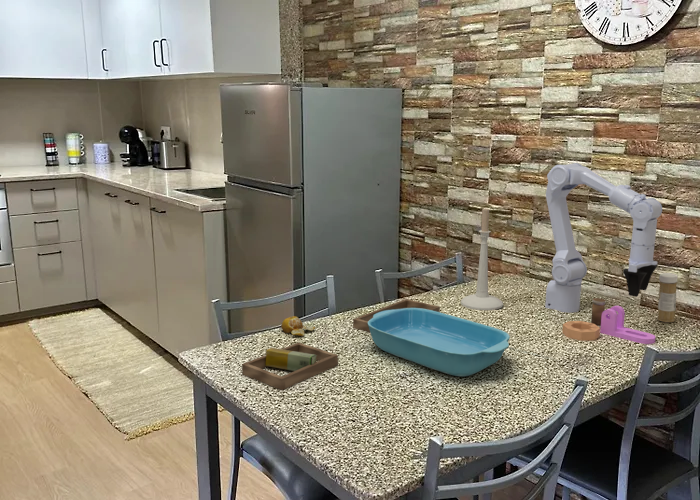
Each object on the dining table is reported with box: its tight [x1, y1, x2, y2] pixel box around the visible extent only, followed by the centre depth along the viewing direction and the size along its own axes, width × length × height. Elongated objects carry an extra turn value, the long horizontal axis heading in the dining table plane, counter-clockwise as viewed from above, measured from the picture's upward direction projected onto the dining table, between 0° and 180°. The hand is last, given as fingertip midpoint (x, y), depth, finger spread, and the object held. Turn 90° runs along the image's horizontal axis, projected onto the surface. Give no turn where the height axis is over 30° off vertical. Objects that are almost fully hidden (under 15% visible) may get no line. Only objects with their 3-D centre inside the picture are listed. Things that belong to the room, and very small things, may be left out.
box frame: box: [241, 342, 339, 391], centre depth 146 cm, size 13×18×2 cm
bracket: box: [599, 305, 656, 345], centre depth 167 cm, size 13×6×7 cm, turn 43°
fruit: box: [280, 315, 316, 337], centre depth 171 cm, size 8×8×4 cm
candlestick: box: [460, 208, 504, 311], centre depth 193 cm, size 13×13×30 cm
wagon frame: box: [352, 298, 441, 333], centre depth 180 cm, size 12×25×2 cm, turn 139°
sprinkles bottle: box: [657, 272, 679, 323], centre depth 178 cm, size 5×5×14 cm
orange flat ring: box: [561, 320, 601, 342], centre depth 169 cm, size 9×9×2 cm
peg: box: [590, 297, 606, 327], centre depth 177 cm, size 3×3×7 cm
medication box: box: [265, 347, 317, 372], centre depth 146 cm, size 12×3×4 cm, turn 69°
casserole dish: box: [368, 308, 511, 377], centre depth 156 cm, size 37×22×7 cm, turn 46°
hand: (637, 292), depth 173 cm, fingers open, 7 cm apart
